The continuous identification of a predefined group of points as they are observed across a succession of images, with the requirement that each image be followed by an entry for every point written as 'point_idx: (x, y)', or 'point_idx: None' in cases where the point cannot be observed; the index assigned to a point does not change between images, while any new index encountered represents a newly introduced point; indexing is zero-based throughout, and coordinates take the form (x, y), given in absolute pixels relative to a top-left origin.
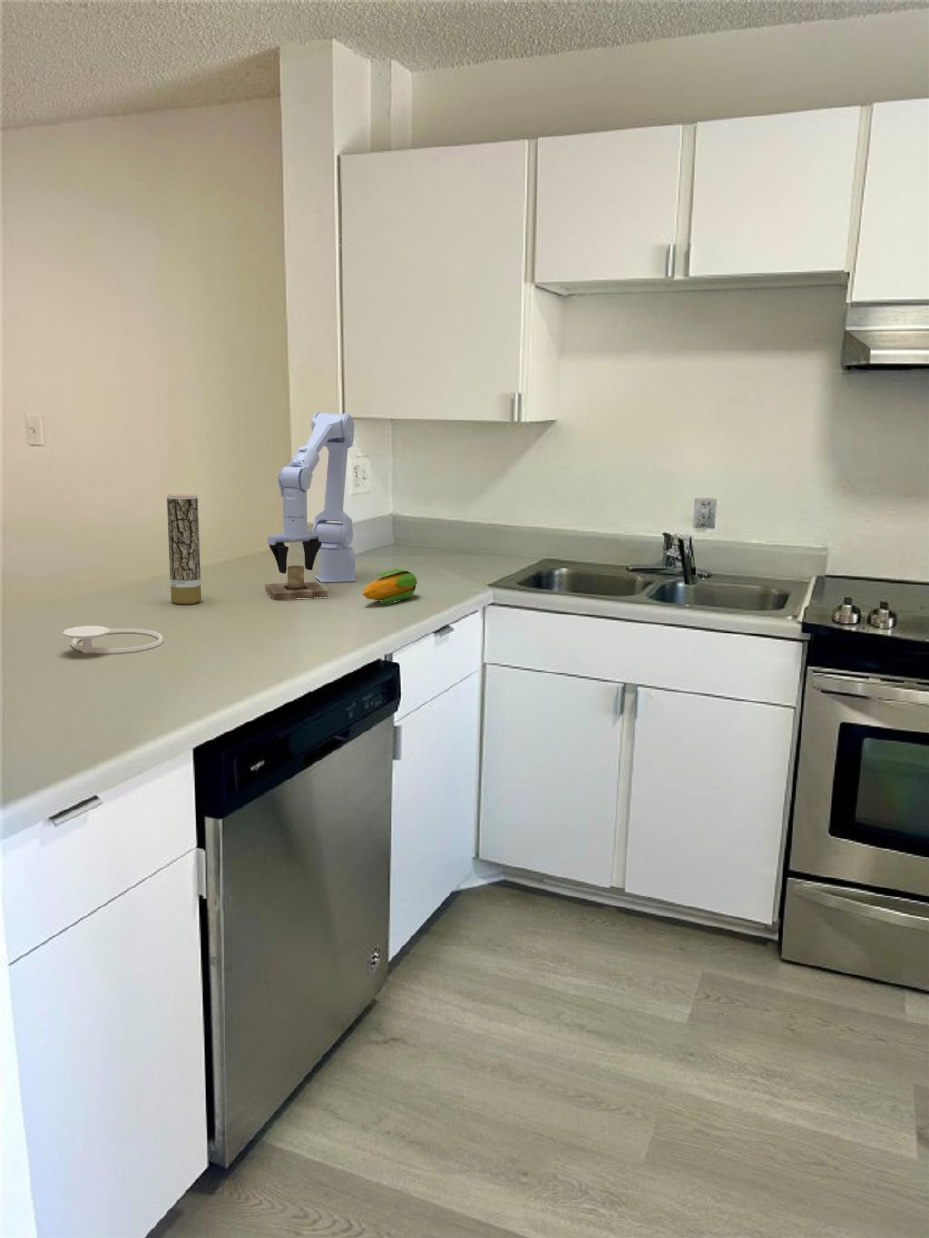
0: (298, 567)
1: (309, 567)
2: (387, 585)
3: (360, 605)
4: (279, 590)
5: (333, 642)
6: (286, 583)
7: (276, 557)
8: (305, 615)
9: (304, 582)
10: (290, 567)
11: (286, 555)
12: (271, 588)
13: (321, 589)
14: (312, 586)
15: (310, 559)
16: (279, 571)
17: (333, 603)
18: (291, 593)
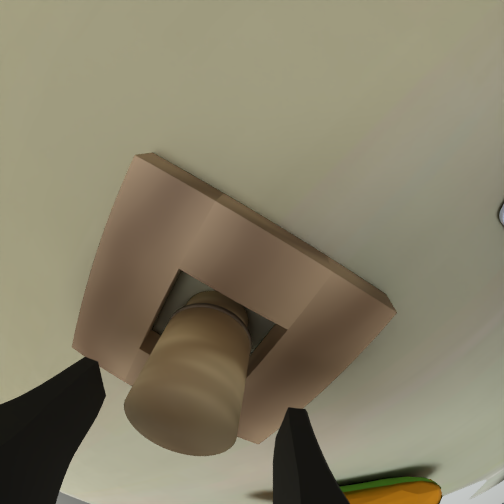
0: (179, 443)
1: (277, 446)
2: None
3: (257, 486)
4: (107, 331)
5: (83, 491)
6: (241, 231)
7: (18, 411)
8: (98, 449)
9: (343, 284)
10: (135, 415)
11: (57, 483)
12: (98, 276)
13: (263, 424)
14: (285, 376)
15: (276, 495)
16: (81, 362)
17: (220, 455)
18: (131, 382)
